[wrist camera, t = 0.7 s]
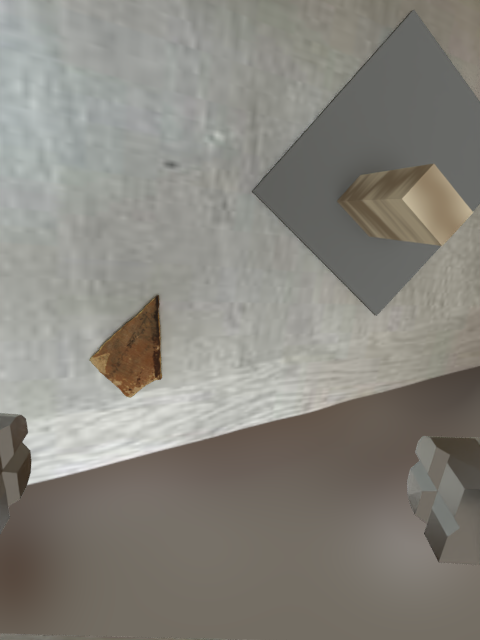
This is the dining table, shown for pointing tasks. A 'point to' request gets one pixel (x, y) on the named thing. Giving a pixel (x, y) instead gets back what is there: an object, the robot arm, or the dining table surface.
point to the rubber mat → (378, 158)
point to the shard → (133, 352)
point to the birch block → (406, 205)
